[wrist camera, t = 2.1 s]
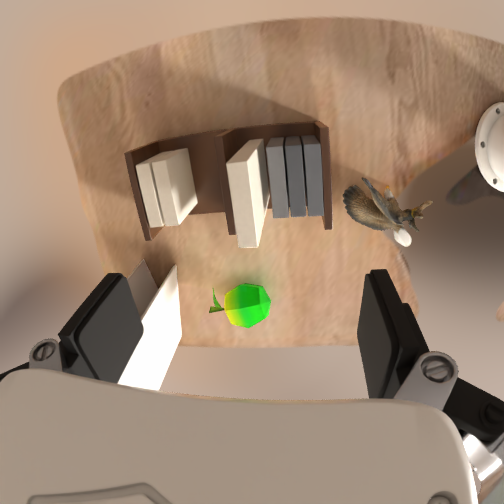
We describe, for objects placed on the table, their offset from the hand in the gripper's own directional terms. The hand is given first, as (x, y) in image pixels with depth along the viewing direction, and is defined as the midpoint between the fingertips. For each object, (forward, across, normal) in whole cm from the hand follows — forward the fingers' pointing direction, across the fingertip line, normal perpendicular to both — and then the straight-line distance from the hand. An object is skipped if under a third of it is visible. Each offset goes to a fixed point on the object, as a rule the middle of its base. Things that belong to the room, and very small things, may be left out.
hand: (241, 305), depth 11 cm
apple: (+27, +6, +19) cm, 33 cm away
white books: (+26, +11, +1) cm, 28 cm away
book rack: (+27, +4, +1) cm, 27 cm away
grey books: (+26, -2, +1) cm, 26 cm away
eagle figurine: (+27, -13, +5) cm, 30 cm away
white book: (+26, +2, +1) cm, 26 cm away
